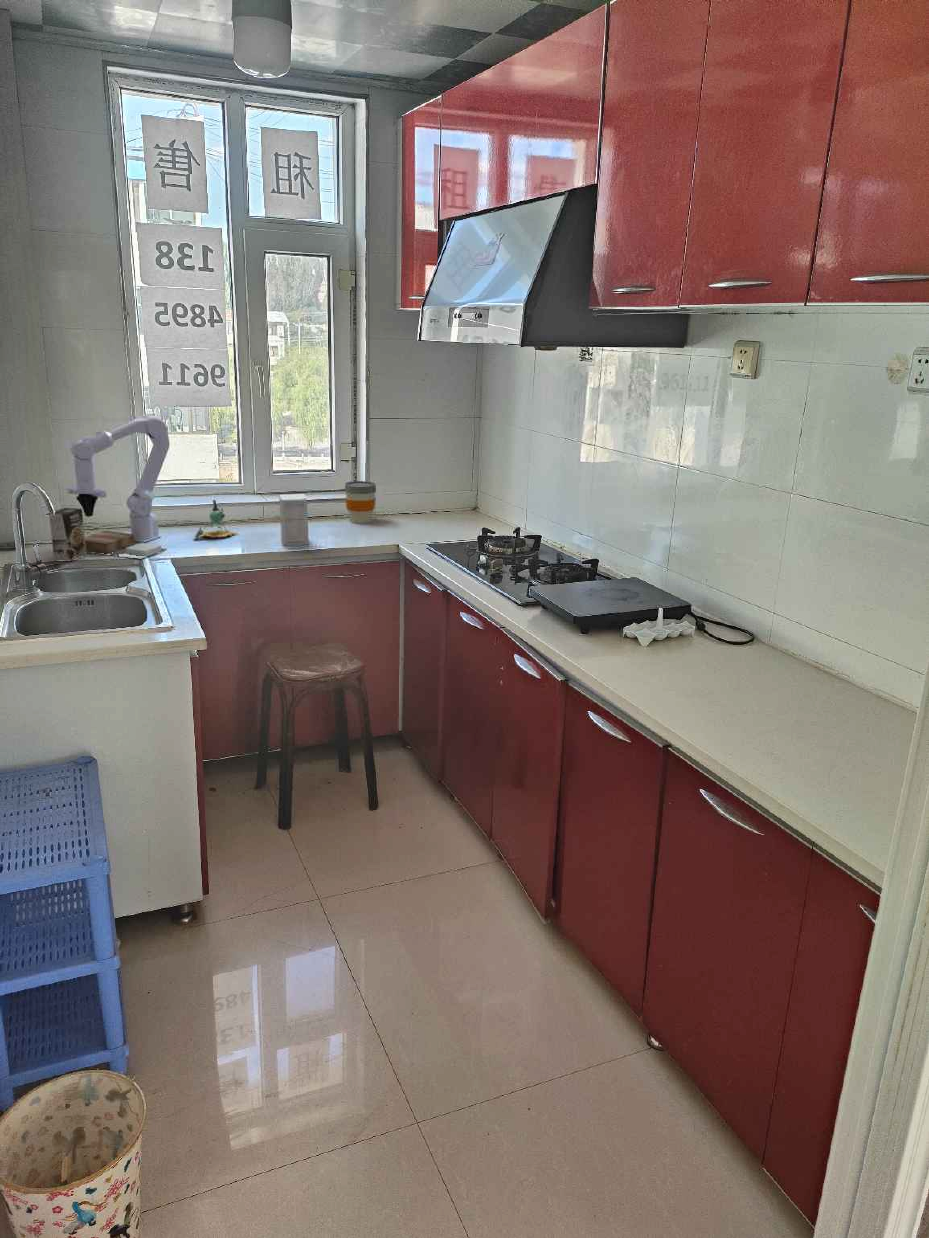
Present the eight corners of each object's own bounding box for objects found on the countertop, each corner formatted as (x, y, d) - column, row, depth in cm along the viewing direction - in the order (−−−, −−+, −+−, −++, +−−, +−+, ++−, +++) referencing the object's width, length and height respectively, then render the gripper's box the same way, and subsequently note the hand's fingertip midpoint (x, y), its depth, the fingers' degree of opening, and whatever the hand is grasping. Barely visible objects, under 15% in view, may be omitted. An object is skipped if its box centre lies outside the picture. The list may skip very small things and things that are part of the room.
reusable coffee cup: (343, 517, 362) (342, 481, 357) (373, 517, 365) (373, 480, 360) (346, 524, 351) (346, 487, 346) (378, 524, 353) (378, 486, 348)
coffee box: (71, 562, 289) (65, 514, 284) (53, 561, 290) (47, 512, 285) (87, 555, 297) (82, 508, 292) (70, 553, 298) (65, 506, 293)
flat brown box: (106, 541, 315) (105, 530, 313) (134, 545, 311) (133, 534, 310) (78, 550, 302) (77, 539, 301) (107, 555, 298) (106, 543, 297)
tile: (160, 545, 303) (161, 551, 304) (141, 542, 306) (141, 548, 306) (145, 551, 296) (146, 556, 297) (125, 548, 299) (126, 554, 299)
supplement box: (306, 538, 329) (305, 493, 323) (309, 544, 320) (308, 498, 315) (280, 539, 326) (278, 494, 320) (282, 545, 318) (280, 499, 312)
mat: (135, 545, 311) (135, 544, 311) (166, 550, 307) (166, 548, 307) (108, 555, 298) (108, 554, 298) (140, 560, 295) (140, 558, 294)
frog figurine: (186, 536, 326) (187, 496, 322) (233, 536, 336) (235, 497, 332) (194, 542, 318) (196, 501, 314) (242, 542, 328) (245, 502, 324)
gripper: (59, 476, 300) (63, 516, 305) (94, 480, 296) (98, 520, 300) (74, 473, 306) (78, 512, 311) (108, 477, 302) (112, 516, 307)
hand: (89, 516), depth 306 cm, fingers closed
